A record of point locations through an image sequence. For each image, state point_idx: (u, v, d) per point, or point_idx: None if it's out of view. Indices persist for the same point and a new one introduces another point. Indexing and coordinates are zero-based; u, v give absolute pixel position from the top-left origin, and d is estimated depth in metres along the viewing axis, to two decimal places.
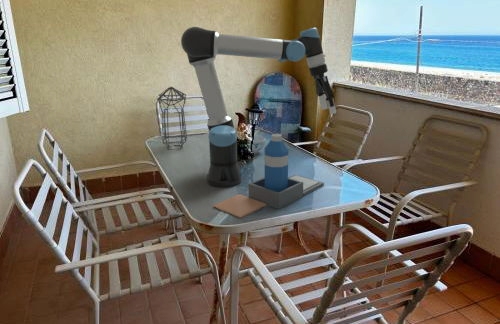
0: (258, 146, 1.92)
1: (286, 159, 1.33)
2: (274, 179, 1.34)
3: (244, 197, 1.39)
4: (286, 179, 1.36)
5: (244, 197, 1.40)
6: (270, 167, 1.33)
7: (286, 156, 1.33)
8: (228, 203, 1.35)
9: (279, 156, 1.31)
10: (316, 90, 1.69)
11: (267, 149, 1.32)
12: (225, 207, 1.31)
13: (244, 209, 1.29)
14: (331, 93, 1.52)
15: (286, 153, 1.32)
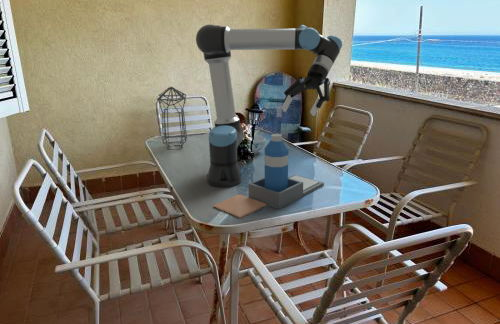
0: (258, 146, 1.92)
1: (286, 159, 1.33)
2: (274, 179, 1.34)
3: (244, 197, 1.39)
4: (286, 179, 1.36)
5: (244, 197, 1.40)
6: (270, 167, 1.33)
7: (286, 156, 1.33)
8: (228, 203, 1.35)
9: (279, 156, 1.31)
10: (288, 89, 1.47)
11: (267, 149, 1.32)
12: (225, 207, 1.31)
13: (244, 209, 1.29)
14: (328, 96, 1.36)
15: (286, 153, 1.32)
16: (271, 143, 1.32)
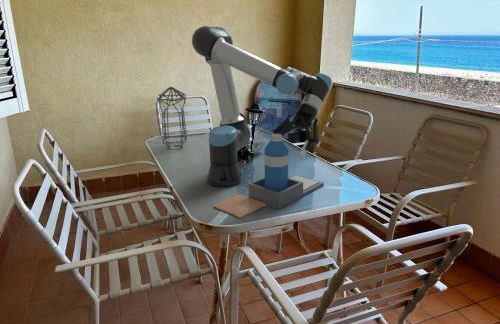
0: (258, 146, 1.92)
1: (286, 159, 1.33)
2: (274, 179, 1.34)
3: (244, 197, 1.39)
4: (286, 179, 1.36)
5: (244, 197, 1.40)
6: (270, 167, 1.33)
7: (286, 156, 1.33)
8: (228, 203, 1.35)
9: (279, 156, 1.31)
10: (277, 128, 1.45)
11: (267, 149, 1.32)
12: (225, 207, 1.31)
13: (244, 209, 1.29)
14: (318, 138, 1.34)
15: (286, 153, 1.32)
16: (271, 143, 1.32)
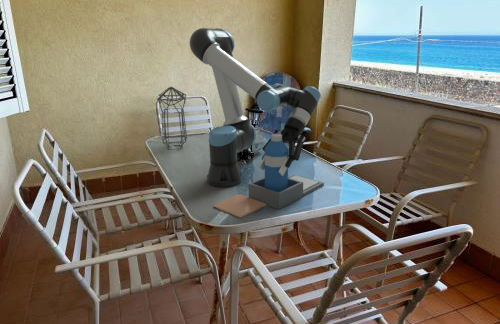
0: (258, 146, 1.92)
1: None
2: (274, 179, 1.34)
3: (244, 197, 1.39)
4: (286, 179, 1.36)
5: (244, 197, 1.40)
6: (270, 167, 1.33)
7: (286, 156, 1.33)
8: (228, 203, 1.35)
9: (279, 155, 1.31)
10: (266, 145, 1.41)
11: (267, 149, 1.32)
12: (225, 207, 1.31)
13: (244, 209, 1.29)
14: (299, 155, 1.33)
15: (286, 153, 1.32)
16: (271, 143, 1.32)
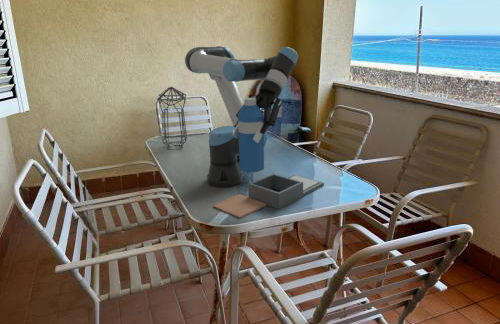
0: None
1: None
2: (248, 147, 1.23)
3: (244, 197, 1.39)
4: (262, 147, 1.25)
5: (244, 197, 1.40)
6: (244, 134, 1.22)
7: (261, 122, 1.22)
8: (228, 203, 1.35)
9: (254, 121, 1.20)
10: None
11: (240, 114, 1.21)
12: (225, 207, 1.31)
13: (244, 209, 1.29)
14: (274, 120, 1.22)
15: (261, 118, 1.22)
16: (244, 108, 1.21)
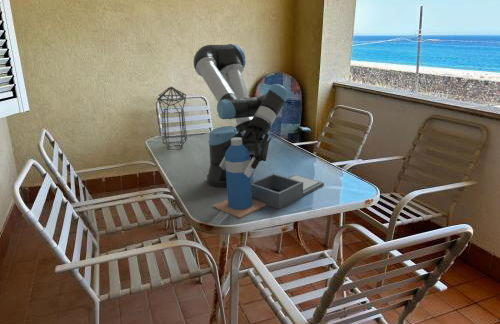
0: None
1: (248, 164, 1.26)
2: (235, 185, 1.26)
3: None
4: (249, 185, 1.28)
5: None
6: (231, 173, 1.26)
7: (247, 161, 1.25)
8: None
9: (240, 160, 1.23)
10: (228, 143, 1.34)
11: (227, 154, 1.25)
12: (225, 207, 1.31)
13: (244, 209, 1.29)
14: (265, 155, 1.24)
15: (247, 157, 1.25)
16: (231, 147, 1.25)
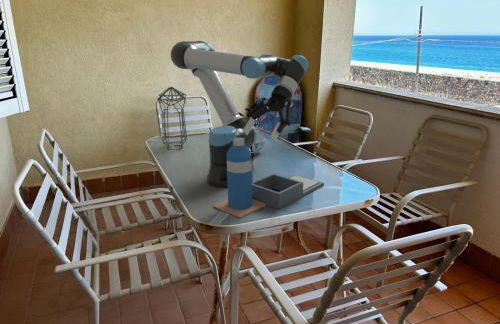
0: (258, 146, 1.92)
1: (249, 165, 1.26)
2: (236, 186, 1.26)
3: None
4: (250, 185, 1.29)
5: None
6: (232, 173, 1.26)
7: (249, 161, 1.25)
8: None
9: (241, 161, 1.24)
10: (251, 111, 1.40)
11: (229, 154, 1.25)
12: (225, 207, 1.31)
13: None
14: (290, 120, 1.30)
15: (249, 158, 1.25)
16: (233, 148, 1.25)
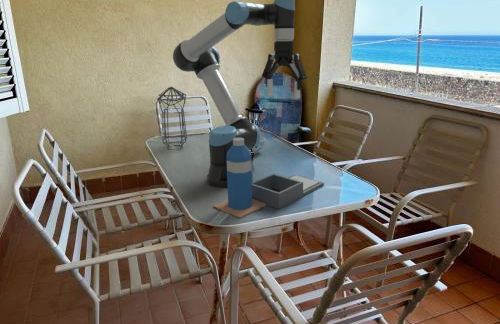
0: (258, 146, 1.92)
1: (249, 165, 1.26)
2: (236, 186, 1.26)
3: None
4: (250, 185, 1.29)
5: None
6: (232, 173, 1.26)
7: (249, 161, 1.25)
8: None
9: (241, 161, 1.24)
10: (264, 72, 1.46)
11: (229, 154, 1.25)
12: (225, 207, 1.31)
13: None
14: (304, 74, 1.35)
15: (249, 158, 1.25)
16: (233, 148, 1.25)
